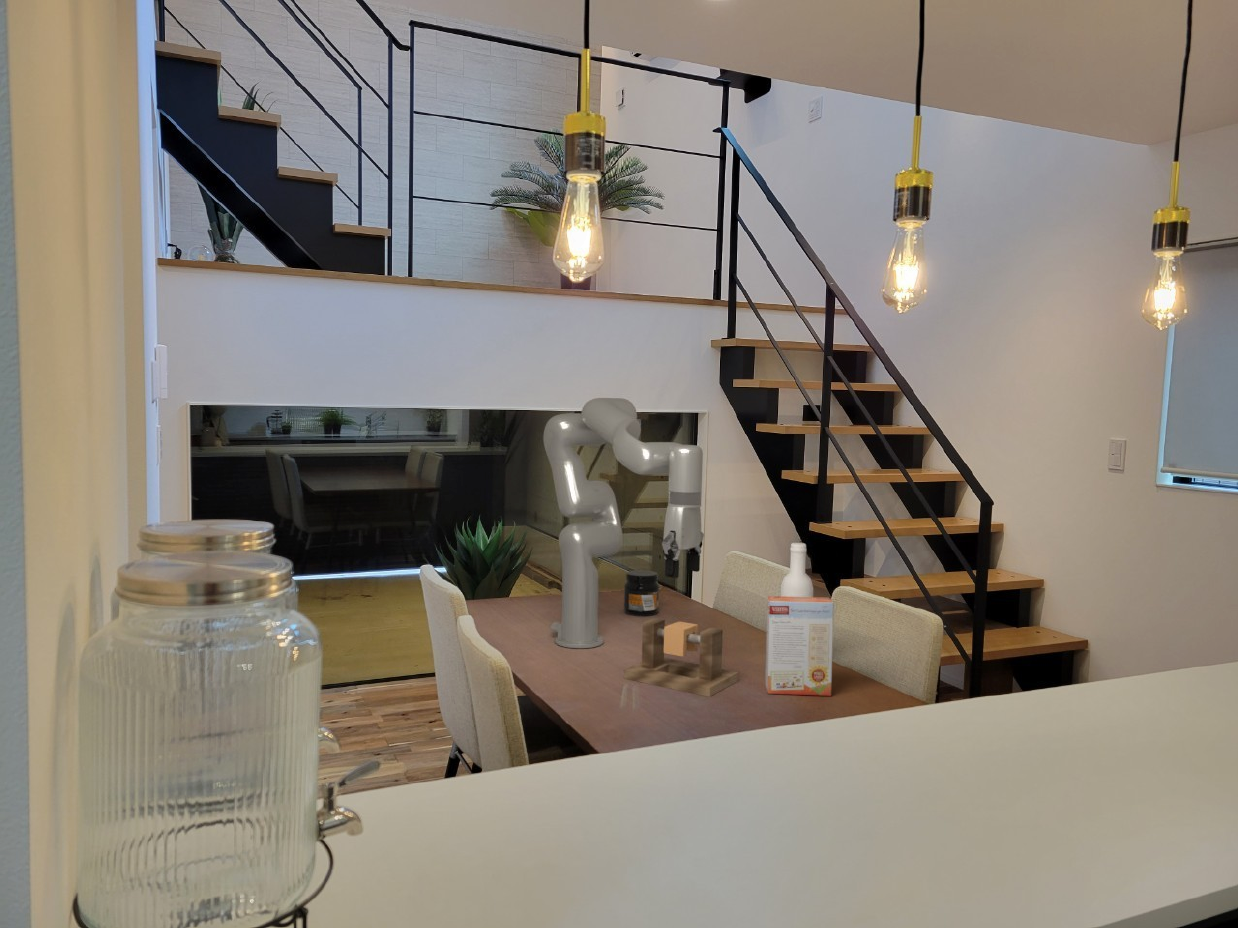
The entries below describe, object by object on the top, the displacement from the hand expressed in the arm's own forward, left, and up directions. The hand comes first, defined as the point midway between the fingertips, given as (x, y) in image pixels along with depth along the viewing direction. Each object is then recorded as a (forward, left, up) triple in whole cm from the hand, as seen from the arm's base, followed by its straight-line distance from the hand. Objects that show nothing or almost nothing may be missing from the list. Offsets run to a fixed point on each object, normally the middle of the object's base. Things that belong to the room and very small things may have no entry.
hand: (682, 573), depth 208 cm
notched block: (0, -1, -18) cm, 18 cm away
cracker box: (+26, +7, -25) cm, 36 cm away
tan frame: (+1, -1, -24) cm, 24 cm away
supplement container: (-41, +50, -25) cm, 70 cm away
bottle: (+18, +25, -25) cm, 39 cm away
